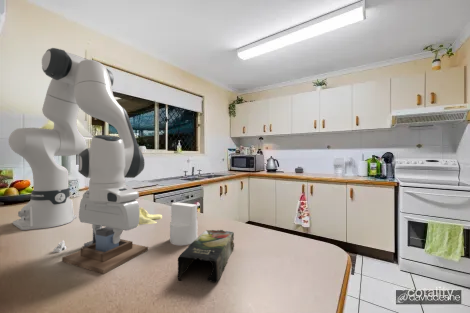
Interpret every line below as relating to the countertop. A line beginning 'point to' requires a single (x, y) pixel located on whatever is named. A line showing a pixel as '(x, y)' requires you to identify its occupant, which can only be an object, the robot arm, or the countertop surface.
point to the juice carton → (208, 252)
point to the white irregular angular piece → (60, 247)
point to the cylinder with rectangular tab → (183, 223)
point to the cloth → (147, 217)
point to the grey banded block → (105, 239)
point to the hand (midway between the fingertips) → (107, 241)
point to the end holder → (104, 256)
